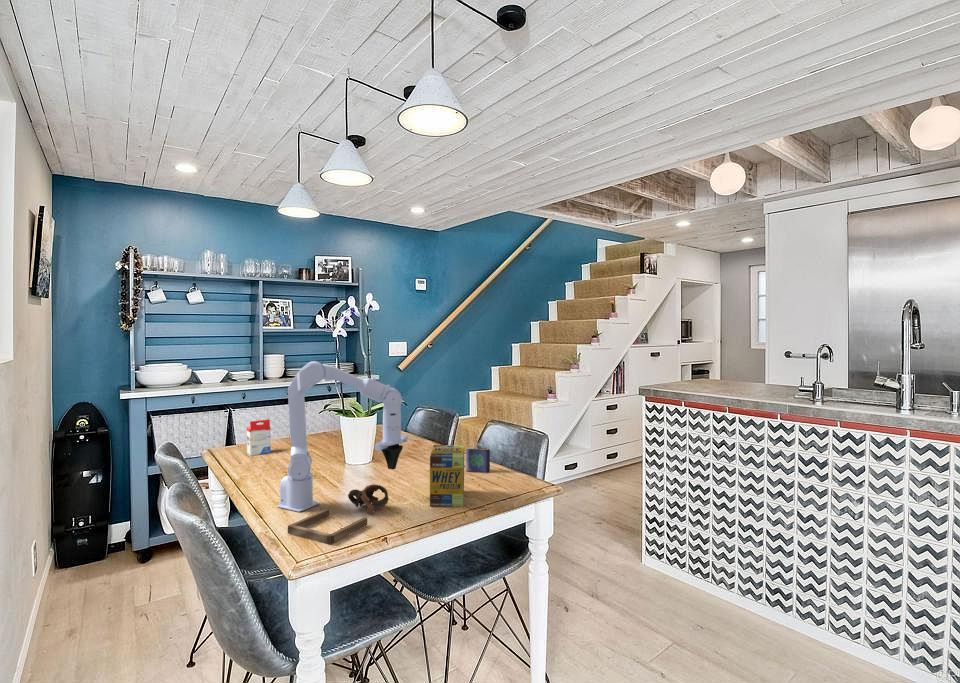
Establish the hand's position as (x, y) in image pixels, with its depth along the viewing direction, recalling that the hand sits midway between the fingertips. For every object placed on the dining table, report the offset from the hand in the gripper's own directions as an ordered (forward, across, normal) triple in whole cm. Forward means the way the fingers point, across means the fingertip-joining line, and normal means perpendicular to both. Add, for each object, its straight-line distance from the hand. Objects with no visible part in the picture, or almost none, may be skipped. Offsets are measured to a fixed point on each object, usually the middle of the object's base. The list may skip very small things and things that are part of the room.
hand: (391, 468), depth 158 cm
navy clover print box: (+10, +39, -11) cm, 42 cm away
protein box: (+10, +8, -16) cm, 20 cm away
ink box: (+10, +19, +85) cm, 88 cm away
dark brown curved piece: (+10, -11, 0) cm, 15 cm away
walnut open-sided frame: (+9, -28, 0) cm, 30 cm away
